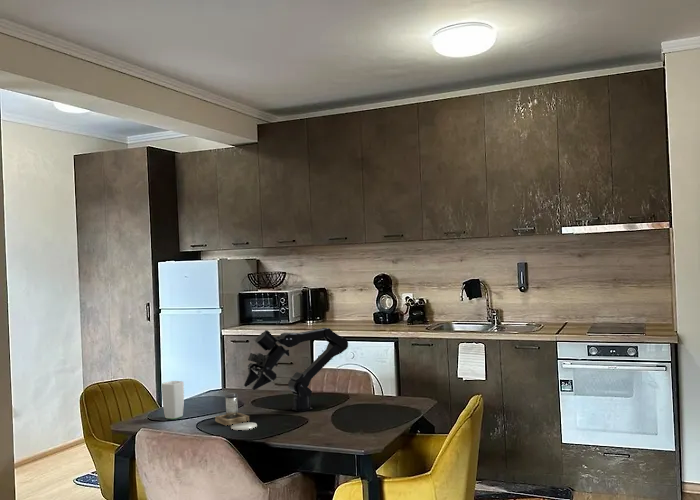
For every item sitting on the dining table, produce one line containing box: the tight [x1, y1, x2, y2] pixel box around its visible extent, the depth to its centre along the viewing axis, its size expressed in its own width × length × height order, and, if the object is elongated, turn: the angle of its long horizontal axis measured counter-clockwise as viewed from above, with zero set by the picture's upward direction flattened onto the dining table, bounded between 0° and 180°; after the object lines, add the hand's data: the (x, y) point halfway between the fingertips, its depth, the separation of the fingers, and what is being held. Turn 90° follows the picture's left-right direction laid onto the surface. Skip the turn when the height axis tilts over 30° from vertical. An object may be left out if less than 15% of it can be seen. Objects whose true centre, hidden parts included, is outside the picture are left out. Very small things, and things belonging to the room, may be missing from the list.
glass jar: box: [224, 392, 239, 419], centre depth 260 cm, size 5×5×11 cm
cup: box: [161, 380, 185, 420], centre depth 270 cm, size 7×7×15 cm
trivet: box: [230, 421, 258, 431], centre depth 250 cm, size 10×10×1 cm
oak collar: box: [214, 412, 250, 427], centre depth 260 cm, size 10×10×2 cm
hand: (248, 387), depth 264 cm, fingers open, 9 cm apart
